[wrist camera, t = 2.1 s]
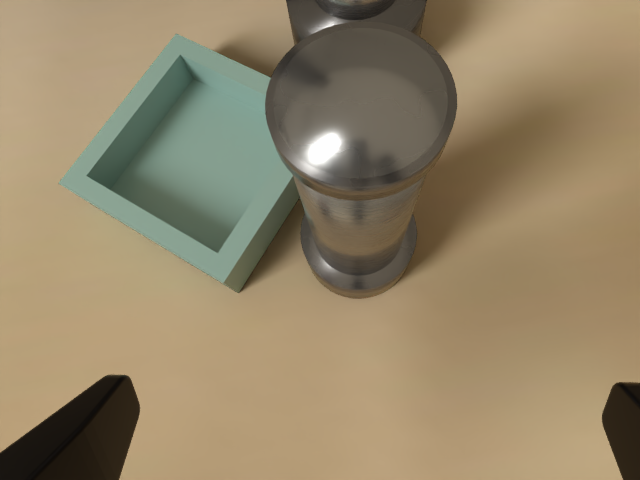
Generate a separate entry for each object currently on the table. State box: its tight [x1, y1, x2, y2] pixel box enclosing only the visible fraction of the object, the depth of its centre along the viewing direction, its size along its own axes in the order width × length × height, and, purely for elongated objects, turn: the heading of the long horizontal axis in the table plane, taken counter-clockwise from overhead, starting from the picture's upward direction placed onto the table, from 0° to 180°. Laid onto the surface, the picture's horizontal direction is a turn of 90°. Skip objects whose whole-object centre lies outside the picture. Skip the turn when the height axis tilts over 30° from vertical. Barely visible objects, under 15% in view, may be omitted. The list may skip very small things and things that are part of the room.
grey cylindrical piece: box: [265, 21, 457, 299], centre depth 16 cm, size 5×5×12 cm
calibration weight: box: [286, 0, 427, 45], centre depth 23 cm, size 7×7×6 cm
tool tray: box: [59, 34, 300, 293], centre depth 23 cm, size 10×10×3 cm
